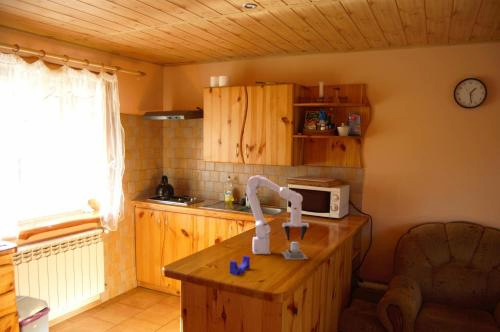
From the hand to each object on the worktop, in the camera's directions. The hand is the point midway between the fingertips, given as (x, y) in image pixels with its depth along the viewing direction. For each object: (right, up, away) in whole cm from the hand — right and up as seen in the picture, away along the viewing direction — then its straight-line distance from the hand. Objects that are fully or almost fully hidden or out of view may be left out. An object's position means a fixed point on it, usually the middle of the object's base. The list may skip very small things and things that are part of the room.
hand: (295, 239), depth 218 cm
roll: (0, -9, 0) cm, 9 cm away
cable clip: (-29, -11, -25) cm, 40 cm away
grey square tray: (0, -9, +1) cm, 9 cm away
